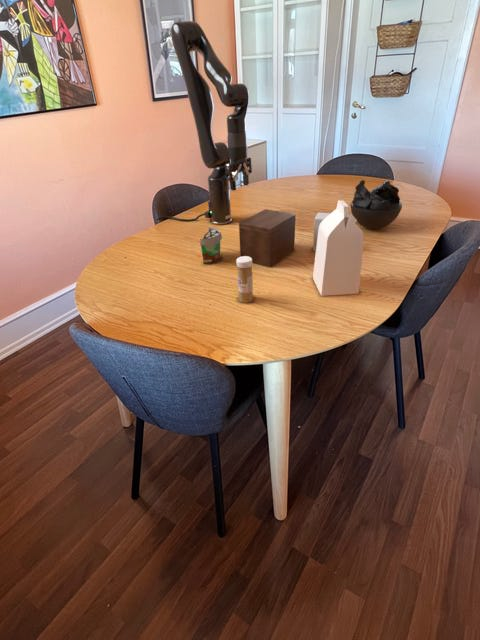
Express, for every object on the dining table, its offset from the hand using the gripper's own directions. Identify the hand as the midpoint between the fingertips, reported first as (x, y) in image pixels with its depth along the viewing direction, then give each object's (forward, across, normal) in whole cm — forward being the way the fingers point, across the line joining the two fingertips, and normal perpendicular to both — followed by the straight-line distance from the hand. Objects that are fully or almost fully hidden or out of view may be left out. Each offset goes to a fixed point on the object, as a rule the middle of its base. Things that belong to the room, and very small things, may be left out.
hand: (239, 187), depth 156 cm
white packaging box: (+19, 0, +39) cm, 43 cm away
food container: (+18, +29, +9) cm, 36 cm away
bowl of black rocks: (+19, -30, +46) cm, 59 cm away
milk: (+19, +24, +55) cm, 63 cm away
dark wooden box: (+18, +16, +24) cm, 34 cm away
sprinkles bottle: (+19, +47, +37) cm, 62 cm away
